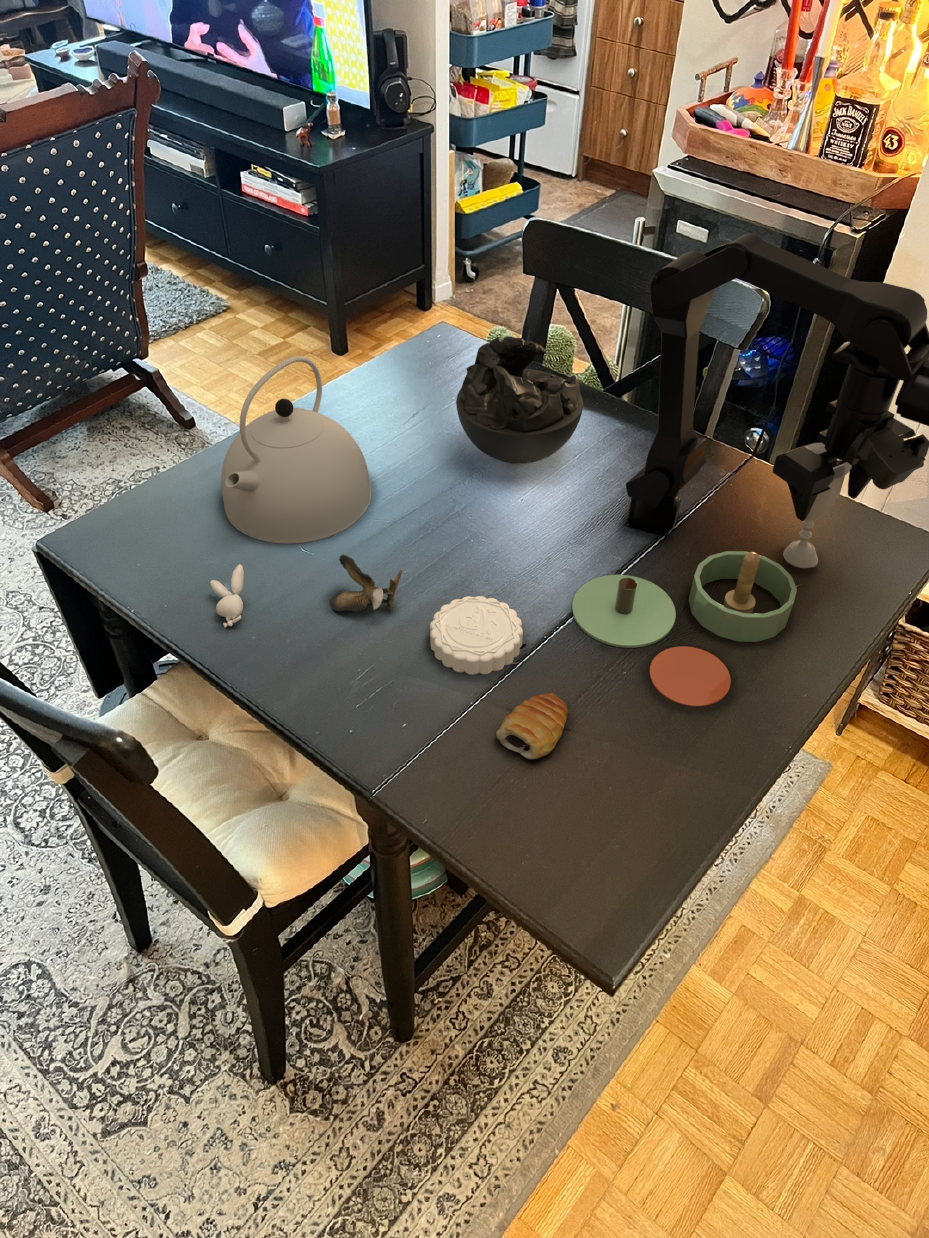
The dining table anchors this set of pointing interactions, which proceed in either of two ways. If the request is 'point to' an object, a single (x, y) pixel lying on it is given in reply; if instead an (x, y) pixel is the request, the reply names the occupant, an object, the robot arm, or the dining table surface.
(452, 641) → the mooncake
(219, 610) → the rabbit figurine
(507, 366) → the bowl of black rocks
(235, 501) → the kettle
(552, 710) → the pastry
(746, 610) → the pestle
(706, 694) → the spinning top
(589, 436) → the dining table surface
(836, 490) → the chalice
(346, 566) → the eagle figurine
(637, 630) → the pot lid
